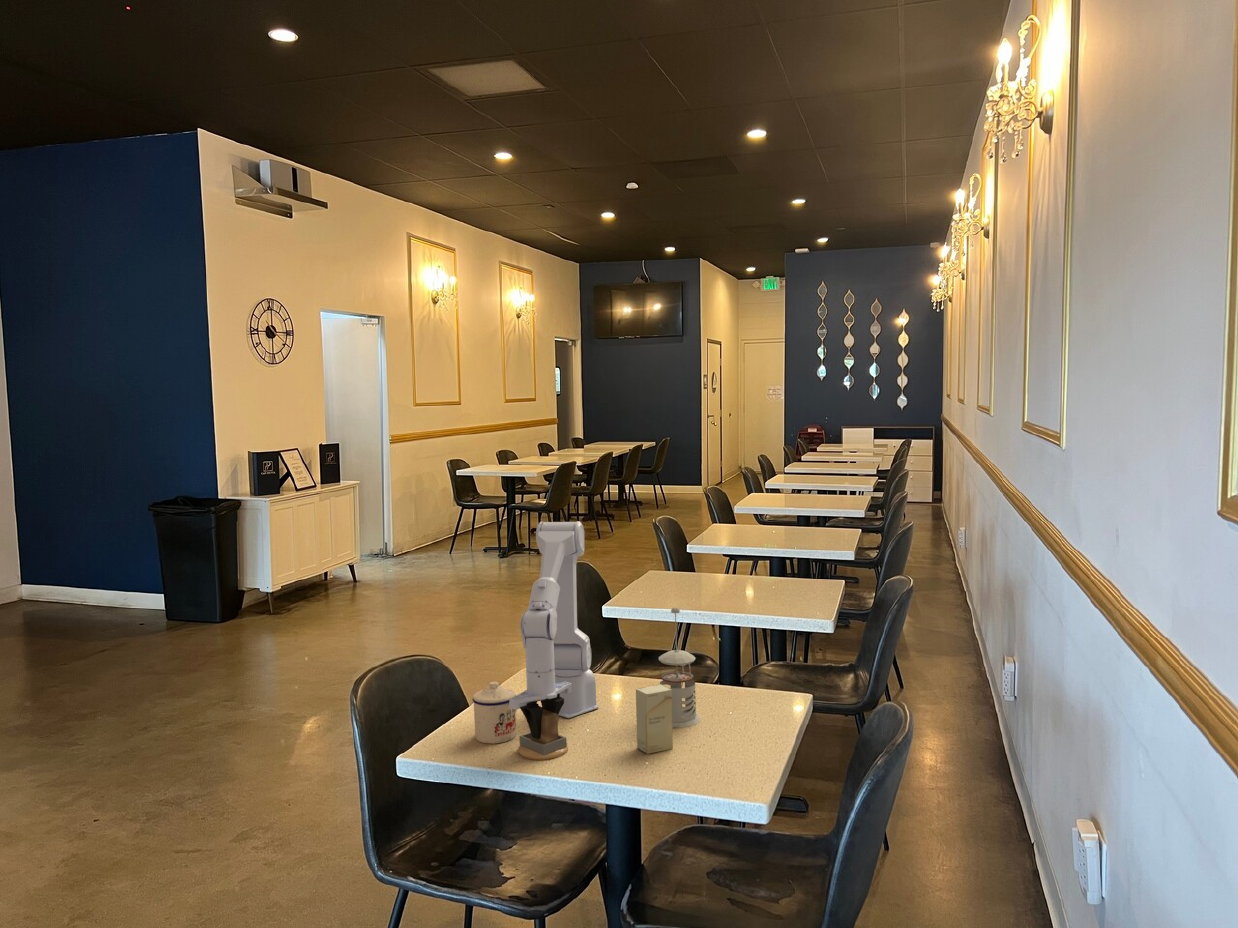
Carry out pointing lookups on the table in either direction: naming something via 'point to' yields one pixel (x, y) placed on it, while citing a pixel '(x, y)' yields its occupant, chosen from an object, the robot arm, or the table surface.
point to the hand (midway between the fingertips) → (542, 735)
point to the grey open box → (542, 748)
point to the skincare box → (654, 718)
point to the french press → (674, 679)
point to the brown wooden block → (548, 727)
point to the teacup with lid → (494, 714)
